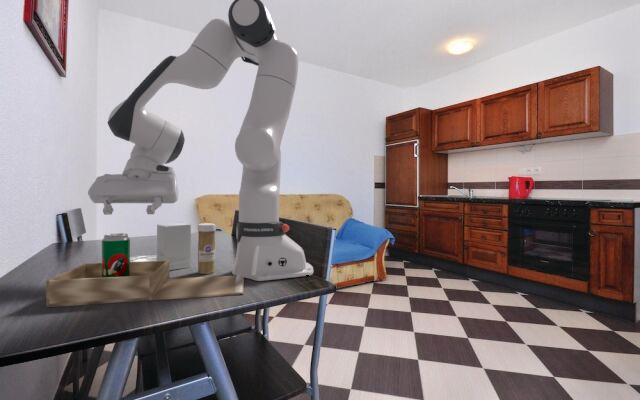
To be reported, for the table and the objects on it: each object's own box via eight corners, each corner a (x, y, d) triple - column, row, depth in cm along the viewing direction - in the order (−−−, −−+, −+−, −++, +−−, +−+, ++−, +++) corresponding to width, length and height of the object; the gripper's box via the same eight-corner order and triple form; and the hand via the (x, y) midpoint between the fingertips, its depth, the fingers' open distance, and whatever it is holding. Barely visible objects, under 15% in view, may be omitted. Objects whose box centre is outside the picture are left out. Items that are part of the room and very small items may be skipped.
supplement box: (191, 267, 87) (191, 224, 86) (164, 271, 81) (164, 226, 81) (182, 262, 92) (182, 222, 92) (156, 266, 87) (156, 223, 86)
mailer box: (243, 276, 78) (243, 257, 78) (243, 294, 64) (243, 271, 64) (85, 284, 69) (85, 263, 69) (46, 307, 56) (46, 280, 55)
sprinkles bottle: (202, 275, 78) (202, 225, 78) (194, 272, 81) (195, 223, 81) (218, 272, 81) (218, 224, 81) (210, 269, 85) (210, 222, 84)
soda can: (135, 286, 67) (135, 233, 66) (116, 294, 62) (116, 236, 61) (115, 285, 67) (115, 232, 67) (95, 292, 62) (95, 235, 62)
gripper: (94, 165, 77) (74, 204, 68) (179, 168, 82) (171, 204, 73) (102, 183, 82) (84, 221, 73) (182, 184, 87) (175, 220, 78)
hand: (128, 212), depth 73 cm, fingers open, 8 cm apart
